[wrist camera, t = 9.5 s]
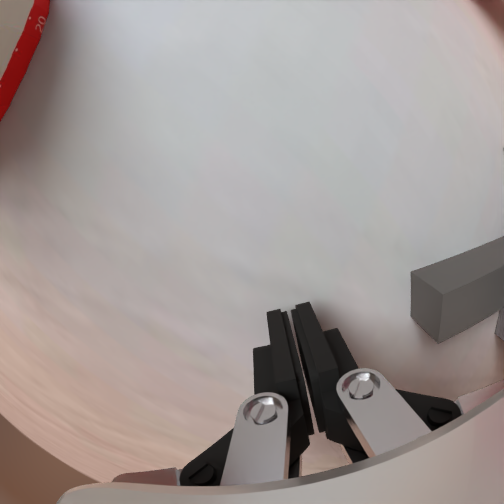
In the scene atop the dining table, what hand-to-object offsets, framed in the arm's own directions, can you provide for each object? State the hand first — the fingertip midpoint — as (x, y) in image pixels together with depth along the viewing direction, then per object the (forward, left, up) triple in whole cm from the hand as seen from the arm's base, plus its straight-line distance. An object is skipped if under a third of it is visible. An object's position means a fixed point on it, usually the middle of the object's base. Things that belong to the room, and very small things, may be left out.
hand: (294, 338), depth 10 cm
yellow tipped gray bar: (0, +16, -1) cm, 16 cm away
